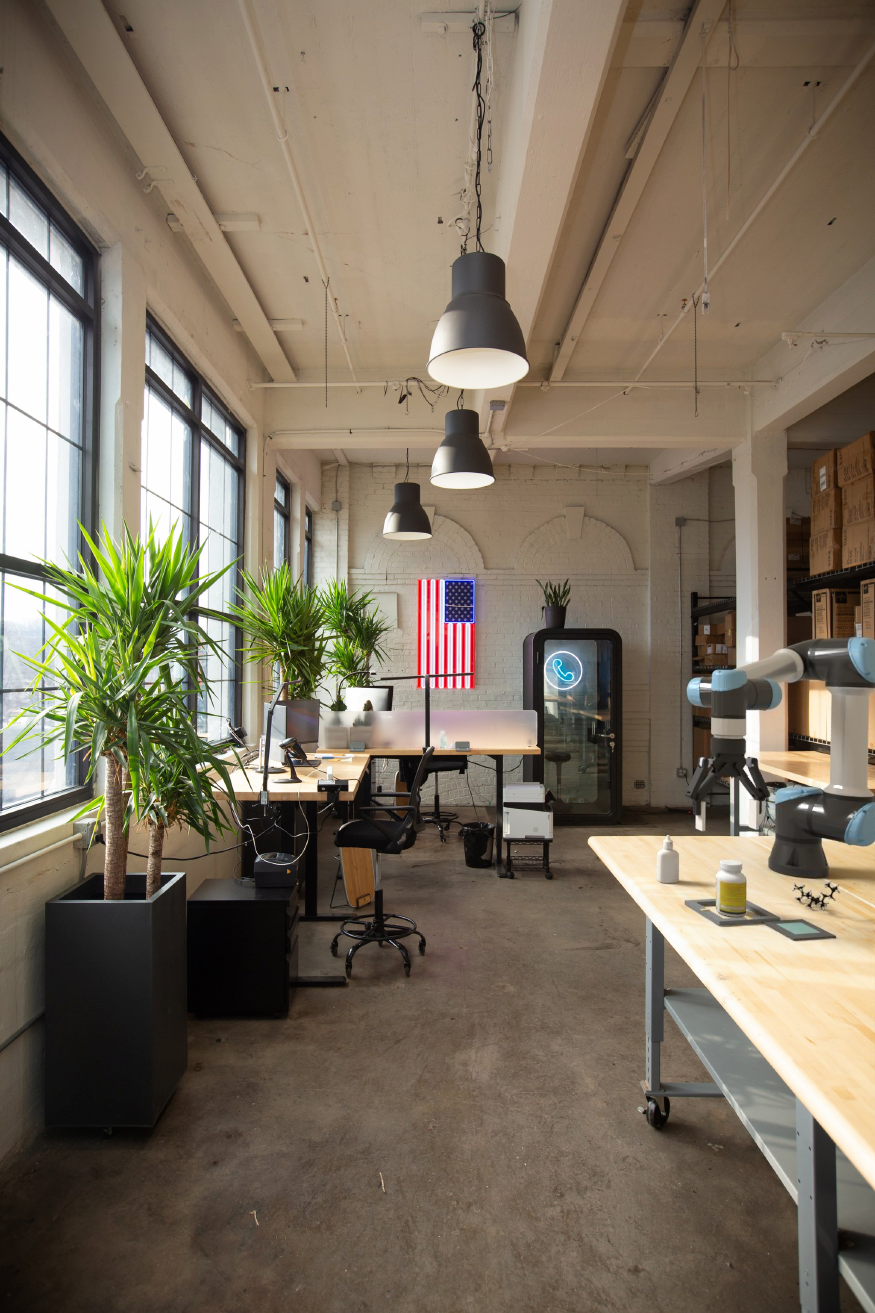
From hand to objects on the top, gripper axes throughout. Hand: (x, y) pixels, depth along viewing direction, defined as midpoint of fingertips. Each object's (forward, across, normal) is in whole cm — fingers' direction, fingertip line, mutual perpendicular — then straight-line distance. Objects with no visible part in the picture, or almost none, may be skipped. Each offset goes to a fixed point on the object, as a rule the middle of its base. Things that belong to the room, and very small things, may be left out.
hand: (727, 829), depth 163 cm
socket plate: (+19, -1, +1) cm, 19 cm away
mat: (+19, -9, +13) cm, 24 cm away
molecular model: (+19, -23, 0) cm, 30 cm away
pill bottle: (+19, -1, +1) cm, 19 cm away
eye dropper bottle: (+19, +2, -24) cm, 31 cm away
